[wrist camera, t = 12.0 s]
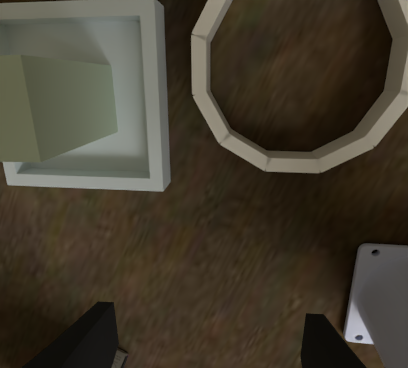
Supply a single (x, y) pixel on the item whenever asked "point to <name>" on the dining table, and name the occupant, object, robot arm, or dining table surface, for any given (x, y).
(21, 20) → the tray
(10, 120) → the peg
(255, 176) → the dining table surface
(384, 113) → the collar
